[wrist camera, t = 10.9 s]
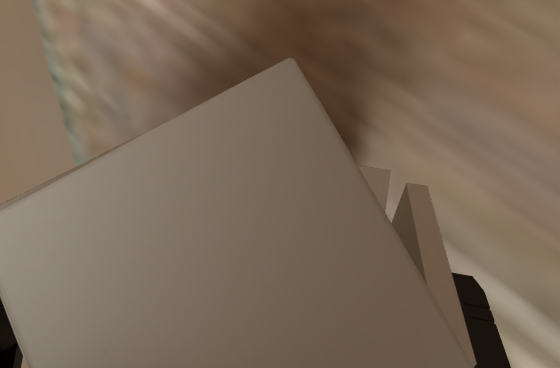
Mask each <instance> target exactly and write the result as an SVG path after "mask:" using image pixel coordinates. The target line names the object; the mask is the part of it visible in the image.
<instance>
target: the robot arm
mask: <svg viewBox="0 0 560 368" xmlns="http://www.w3.org/2000/svg"><path fill="white" fill-rule="evenodd" d="M392 225H393V227H394V229H395V230H396V232H397V234H398V236H399V237H400V239H401V241H402V243H403V244H404V246H405V248H406V250H407V251H408V253H409V255H410V257H411V258H412V260H413V262H414V264H415V265H416V267H417V269H418V271H419V272H420V274H421V276H422V278H423V279H424V281H425V283H426V284H427V286H428V288H429V290H430V291H431V293H432V295H433V296H434V298H435V300H436V301H437V303H438V305H439V307H440V308H441V310H442V312H443V313H444V315H445V317H446V319H447V321H448V323H449V324H450V326H451V328H452V330H453V331H454V333H455V335H456V336H457V338H458V340H459V342H460V344H461V346H462V347H463V349H464V351H465V353H466V355H467V357H468V358H469V360H470V362H471V364H472V366H473V368H511V367H510V364H509V361H508V358H507V355H506V352H505V349H504V347H503V344H502V341H501V338H500V335H499V332H498V329H497V326H496V324H494V318H493V315H492V312H491V311H490V306H489V304H488V301H487V298H486V295H485V292H484V290H483V289H482V288H481V287H480V285H479V284H478V283H477V281H476V280H475V279H474V278H473V276H468V275H462V274H456V273H451V269H450V266H449V262H448V259H447V255H446V251H445V248H444V244H443V240H442V237H441V233H440V230H439V226H438V222H437V219H436V215H435V212H434V208H433V204H432V201H431V197H430V194H429V190H428V186H424V185H418V184H411V183H406V185H405V188H404V191H403V193H402V196H401V199H400V202H399V204H398V207H397V210H396V213H395V215H394V218H393V221H392ZM22 358H23V355H22V352H21V349H20V347H19V344H18V342H17V339H16V337H15V334H14V332H13V329H12V326H11V324H10V321H9V319H8V316H7V313H6V311H5V308H4V305H3V303H2V300H1V297H0V368H21V364H22Z"/></svg>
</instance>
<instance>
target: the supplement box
mask: <svg viewBox="0 0 560 368" xmlns="http://www.w3.org/2000/svg"><path fill="white" fill-rule="evenodd" d="M0 297H1V300H2V303H3V305H4V308H5V311H6V313H7V316H8V319H9V321H10V324H11V326H12V329H13V332H14V334H15V337H16V339H17V342H18V344H19V347H20V349H21V352H22V355H23V357H24V359H25V362H26V365H27V367H28V368H473V366H472V364H471V362H470V360H469V358H468V357H467V355H466V353H465V351H464V349H463V347H462V346H461V344H460V342H459V340H458V338H457V336H456V335H455V333H454V331H453V330H452V328H451V326H450V324H449V323H448V321H447V319H446V317H445V315H444V313H443V312H442V310H441V308H440V307H439V305H438V303H437V301H436V300H435V298H434V296H433V295H432V293H431V291H430V290H429V288H428V286H427V284H426V283H425V281H424V279H423V278H422V276H421V274H420V272H419V271H418V269H417V267H416V265H415V264H414V262H413V260H412V258H411V257H410V255H409V253H408V251H407V250H406V248H405V246H404V244H403V243H402V241H401V239H400V237H399V236H398V234H397V232H396V230H395V229H394V227H393V225H392V224H391V222H390V220H389V218H388V217H387V215H386V213H385V212H384V210H383V208H382V206H381V205H380V203H379V201H378V200H377V198H376V196H375V194H374V193H373V191H372V189H371V188H370V186H369V184H368V182H367V181H366V179H365V177H364V176H363V174H362V172H361V170H360V169H359V167H358V165H357V164H356V162H355V160H354V158H353V157H352V155H351V153H350V152H349V150H348V148H347V147H346V145H345V143H344V141H343V140H342V138H341V136H340V135H339V133H338V131H337V129H336V128H335V126H334V124H333V123H332V121H331V119H330V117H329V116H328V114H327V112H326V111H325V109H324V107H323V106H322V104H321V102H320V101H319V99H318V97H317V96H316V94H315V92H314V91H313V89H312V88H311V86H310V84H309V83H308V81H307V79H306V78H305V76H304V74H303V73H302V71H301V69H300V68H299V66H298V64H297V62H296V61H295V60H294V59H293V58H290V57H288V58H286V59H284V60H283V61H281V62H279V63H277V64H276V65H274V66H272V67H270V68H268V69H266V70H264V71H262V72H260V73H258V74H256V75H254V76H252V77H251V78H249V79H247V80H245V81H243V82H241V83H239V84H237V85H235V86H233V87H232V88H230V89H228V90H226V91H224V92H222V93H220V94H218V95H216V96H214V97H213V98H211V99H209V100H207V101H205V102H203V103H201V104H199V105H198V106H196V107H194V108H192V109H190V110H188V111H186V112H184V113H182V114H180V115H178V116H176V117H175V118H173V119H171V120H169V121H167V122H165V123H163V124H161V125H159V126H158V127H156V128H154V129H152V130H150V131H148V132H146V133H144V134H142V135H140V136H138V137H136V138H134V139H132V140H130V141H128V142H126V143H124V144H122V145H119V146H117V147H115V148H113V149H111V150H109V151H107V152H105V153H103V154H101V155H99V156H97V157H95V158H93V159H91V160H89V161H87V162H85V163H83V164H81V165H79V166H77V167H75V168H73V169H71V170H69V171H67V172H65V173H63V174H61V175H59V176H56V177H54V178H52V179H50V180H48V181H46V182H44V183H42V184H40V185H38V186H36V187H34V188H32V189H30V190H28V191H27V192H25V193H23V194H20V195H18V196H16V197H14V198H12V199H10V200H9V201H6V202H5V203H2V204H0Z"/></svg>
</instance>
